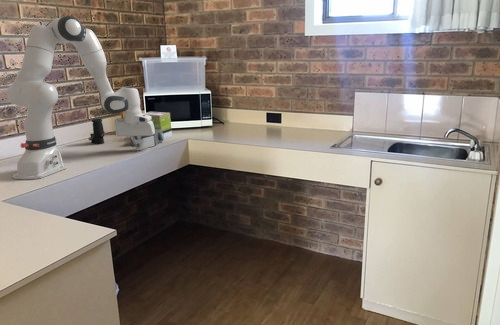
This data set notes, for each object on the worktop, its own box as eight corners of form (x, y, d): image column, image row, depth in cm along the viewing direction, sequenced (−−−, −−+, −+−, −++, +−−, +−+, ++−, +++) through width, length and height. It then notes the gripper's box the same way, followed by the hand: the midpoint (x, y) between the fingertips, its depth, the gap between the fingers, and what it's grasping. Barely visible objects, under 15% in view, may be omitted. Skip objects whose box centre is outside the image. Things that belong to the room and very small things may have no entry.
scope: (98, 117, 235) (107, 118, 228) (101, 140, 238) (110, 142, 232) (84, 119, 229) (93, 121, 222) (88, 143, 233) (97, 145, 226)
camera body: (159, 145, 220) (157, 132, 218) (131, 145, 223) (129, 132, 221) (166, 140, 232) (165, 127, 230) (139, 140, 234) (138, 128, 232)
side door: (157, 145, 219) (156, 135, 218) (137, 150, 209) (136, 140, 208) (154, 144, 221) (153, 135, 219) (135, 150, 211) (133, 140, 209)
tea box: (141, 138, 239) (138, 113, 235) (153, 135, 247) (150, 111, 243) (161, 140, 232) (159, 114, 228) (172, 136, 240) (170, 111, 236)
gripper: (111, 119, 207) (115, 146, 211) (150, 118, 205) (153, 145, 209) (116, 117, 213) (120, 143, 217) (154, 116, 211) (157, 142, 215)
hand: (136, 144), depth 213 cm, fingers closed
